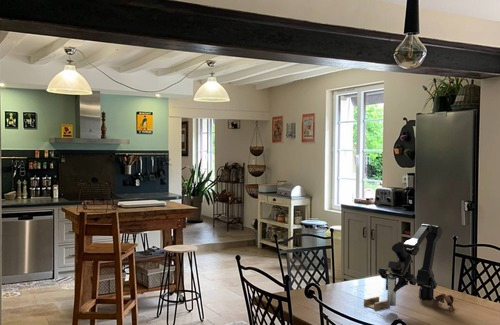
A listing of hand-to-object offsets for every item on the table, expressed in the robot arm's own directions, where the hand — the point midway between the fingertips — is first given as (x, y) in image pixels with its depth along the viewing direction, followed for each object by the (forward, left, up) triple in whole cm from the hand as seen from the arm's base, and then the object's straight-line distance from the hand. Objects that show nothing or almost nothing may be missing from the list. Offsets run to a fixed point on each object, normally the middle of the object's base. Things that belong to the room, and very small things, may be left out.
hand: (390, 290), depth 240 cm
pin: (-1, -1, -7) cm, 7 cm away
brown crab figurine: (-30, -9, -11) cm, 33 cm away
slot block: (+4, -10, -11) cm, 15 cm away
